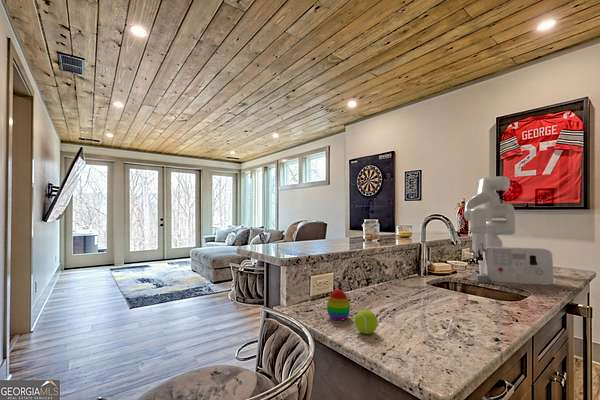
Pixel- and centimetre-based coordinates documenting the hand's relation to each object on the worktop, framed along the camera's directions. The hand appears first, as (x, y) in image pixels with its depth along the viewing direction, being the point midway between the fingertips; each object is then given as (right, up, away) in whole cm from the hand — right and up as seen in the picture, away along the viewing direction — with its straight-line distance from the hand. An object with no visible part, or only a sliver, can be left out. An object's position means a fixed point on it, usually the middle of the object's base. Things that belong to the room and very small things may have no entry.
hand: (479, 264), depth 156 cm
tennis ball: (-78, -7, -67) cm, 103 cm away
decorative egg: (-85, -7, -54) cm, 101 cm away
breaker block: (+1, -9, +1) cm, 9 cm away
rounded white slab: (+17, -9, -5) cm, 20 cm away
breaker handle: (-1, -6, -3) cm, 7 cm away
